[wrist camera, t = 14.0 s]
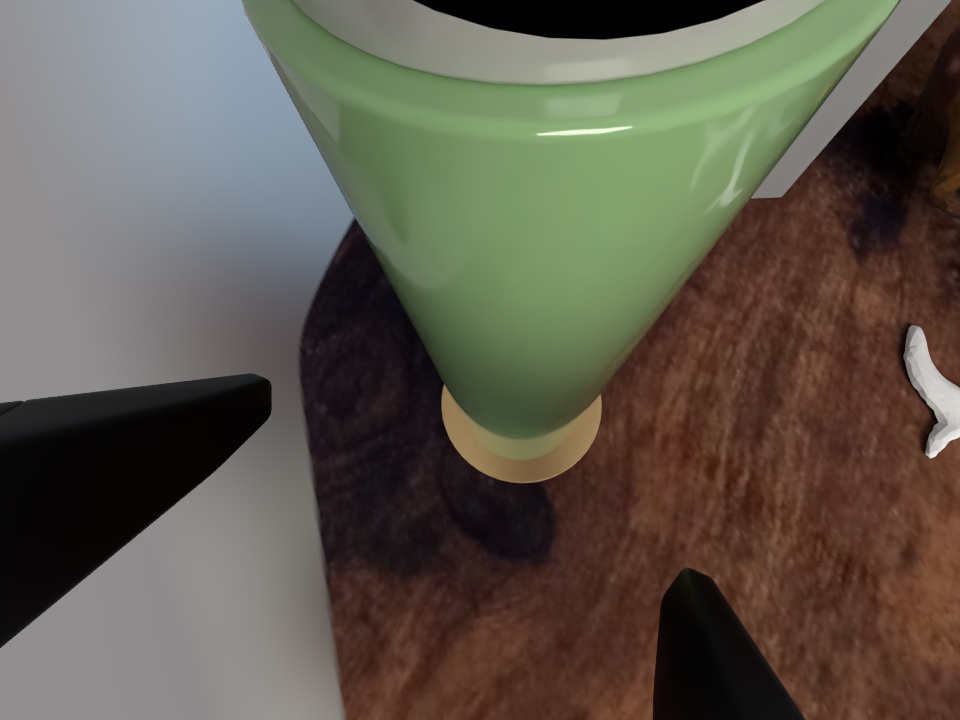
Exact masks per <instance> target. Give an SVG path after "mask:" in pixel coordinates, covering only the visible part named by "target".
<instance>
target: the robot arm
mask: <svg viewBox="0 0 960 720" xmlns="http://www.w3.org/2000/svg"><path fill="white" fill-rule="evenodd" d="M271 406H272V403H271V383H270V381H269V380H267V379H265V378H263V377H260V376H259V375H256V374H243V375H234V376H226V377H217V378H210V379H201V380H192V381H183V382H175V383H166V384H158V385H150V386H141V387H133V388H124V389H116V390H108V391H99V392H91V393H82V394H74V395H66V396H58V397H48V398H40V399H32V400H27V401H25V402H23V401H14V402H5V403H0V648H1V647H2V646H3V645H5V644H6V643H7V642H8V641H9V640H11V639H12V638H13V637H14V636H16V635H17V634H18V633H19V632H20V631H21V630H23V629H24V628H25V627H26V626H28V625H29V624H30V623H31V622H33V621H34V620H35V619H36V618H37V617H38V616H40V615H41V614H42V613H43V612H45V611H46V610H47V609H48V608H49V607H51V606H52V605H53V604H54V603H56V602H57V601H58V600H59V599H60V598H62V597H63V596H64V595H65V594H67V593H68V592H69V591H70V590H71V589H73V588H74V587H75V586H76V585H77V584H78V583H80V582H81V581H82V580H84V579H85V578H86V577H87V576H88V575H90V574H91V573H92V572H93V571H94V570H96V569H97V568H98V567H99V566H101V565H102V564H103V563H104V562H105V561H107V560H108V559H109V558H110V557H112V556H113V555H114V554H115V553H116V552H118V551H119V550H120V549H121V548H122V547H123V546H125V545H126V544H127V543H129V542H130V541H131V540H132V539H133V538H135V537H136V536H137V535H138V534H139V533H141V532H142V531H143V530H144V529H146V528H147V527H148V526H149V525H150V524H151V523H153V522H154V521H155V520H157V519H158V518H159V517H160V516H161V515H163V514H164V513H165V512H166V511H168V509H170V508H171V507H172V506H174V505H175V504H176V503H177V502H178V501H180V499H182V498H183V497H185V496H186V495H187V494H188V493H189V492H191V491H192V490H193V489H194V488H195V487H196V486H198V485H199V484H200V483H202V482H203V481H204V480H205V479H206V478H207V477H209V476H210V475H211V474H212V473H213V472H214V471H216V470H217V469H218V468H219V467H220V466H221V465H222V464H223V463H224V462H225V461H226V460H227V459H228V458H229V457H230V456H231V455H232V454H233V453H234V452H235V451H236V450H237V449H238V448H239V447H240V446H241V445H242V444H243V443H244V442H245V441H246V440H247V439H248V438H249V437H251V436H252V435H253V434H254V433H255V432H256V431H257V430H258V429H259V428H260V427H261V426H262V425H263V424H264V423H265V422H266V421H267V419H268V418H269V416H270V414H271ZM653 720H806V719H805V718H804V716H803V715H802V713H801V712H800V710H799V709H798V707H797V706H796V704H795V703H794V701H793V700H792V698H791V697H790V695H789V694H788V692H787V691H786V689H785V688H784V686H783V685H782V683H781V682H780V680H779V679H778V677H777V676H776V674H775V673H774V671H773V670H772V668H771V667H770V665H769V664H768V662H767V661H766V659H765V658H764V656H763V655H762V653H761V652H760V650H759V648H758V647H757V645H756V644H755V642H754V641H753V639H752V638H751V636H750V635H749V633H748V632H747V630H746V629H745V627H744V626H743V624H742V623H741V621H740V620H739V618H738V617H737V615H736V614H735V612H734V611H733V609H732V608H731V606H730V605H729V603H728V602H727V600H726V599H725V597H724V596H723V594H722V593H721V591H720V590H719V588H718V587H717V585H716V584H715V582H714V581H713V580H712V579H711V578H710V577H709V576H707V575H705V574H702V573H700V572H698V571H696V570H693V569H691V568H685V569H683V570H682V571H681V572H680V573H679V575H678V576H677V577H676V579H675V580H674V582H673V583H672V584H671V586H670V587H669V589H668V590H667V591H666V593H665V594H664V596H663V599H662V602H661V608H660V619H659V631H658V643H657V655H656V666H655V678H654V693H653Z"/></svg>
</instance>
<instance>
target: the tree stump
mask: <svg viewBox="0 0 960 720" xmlns="http://www.w3.org/2000/svg"><path fill="white" fill-rule="evenodd" d="M903 358H904V360H905V364H906V368H907V372H908V375H909V378H910V381H911V383H912V385H913V387H914V388H915V389H916V390H918V391H919V394H920V396H921V397H922V398H923V399H924V400H925V401H926V402H927V405H928V406H929V407H931V408H932V409H933V410H934V413H935V415H936V418H937V420H938V422H939V423H937V424H936V425H934V428H933V431H932V432H931V433H930V435H929V438H928V441H927V444H926V451H925V454H926V455H927V456H928V457H929V458H930V459H931V458H933V457H935V456H937V454H938V452H940V451H941V450H942V449H944V448H945V446H946V445H947V443H948V442H949V441H950V440H953V439H957V438H958V437H960V388H959V387H958V386H956V385H955V384H953V383H951V382H950V381H948V380H946V379H945V378H944V377H943V376H942V375H941V374H940V373H939V372H938V371H937V369H936V368H935V366H934V365H933V363H932V361H931V359H930V356H929V353H928V349H927V343H926V339H925V335H924V333H923V331H922V329H921V327H918V326H914V325H912V326H911V327H909V330H908V333H907V336H906V345H905V353H904V356H903Z"/></svg>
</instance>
